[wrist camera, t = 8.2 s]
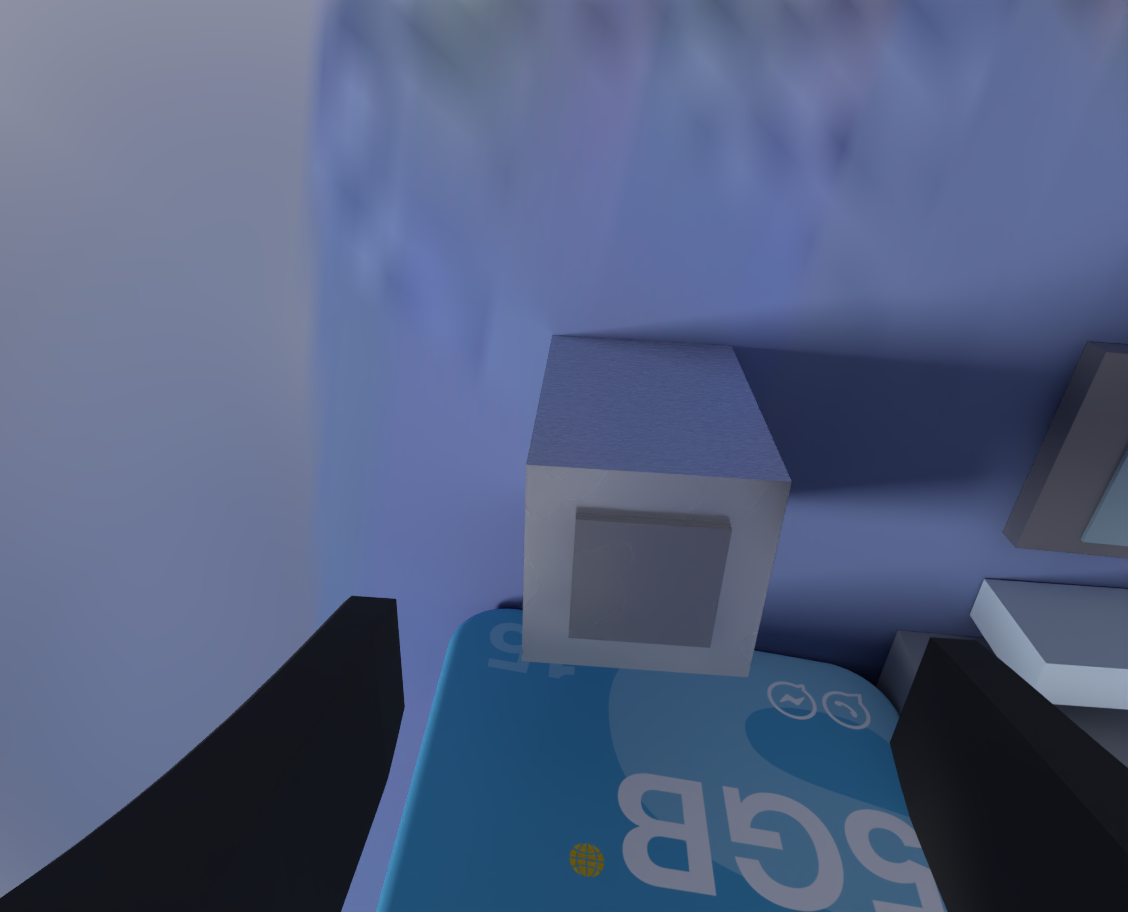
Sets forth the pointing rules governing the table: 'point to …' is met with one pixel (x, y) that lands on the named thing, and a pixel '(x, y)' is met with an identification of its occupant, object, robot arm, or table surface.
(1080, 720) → the cube
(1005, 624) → the socket rails
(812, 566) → the table surface
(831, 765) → the data package
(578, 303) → the table surface
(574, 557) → the metal plug
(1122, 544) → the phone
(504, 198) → the table surface
